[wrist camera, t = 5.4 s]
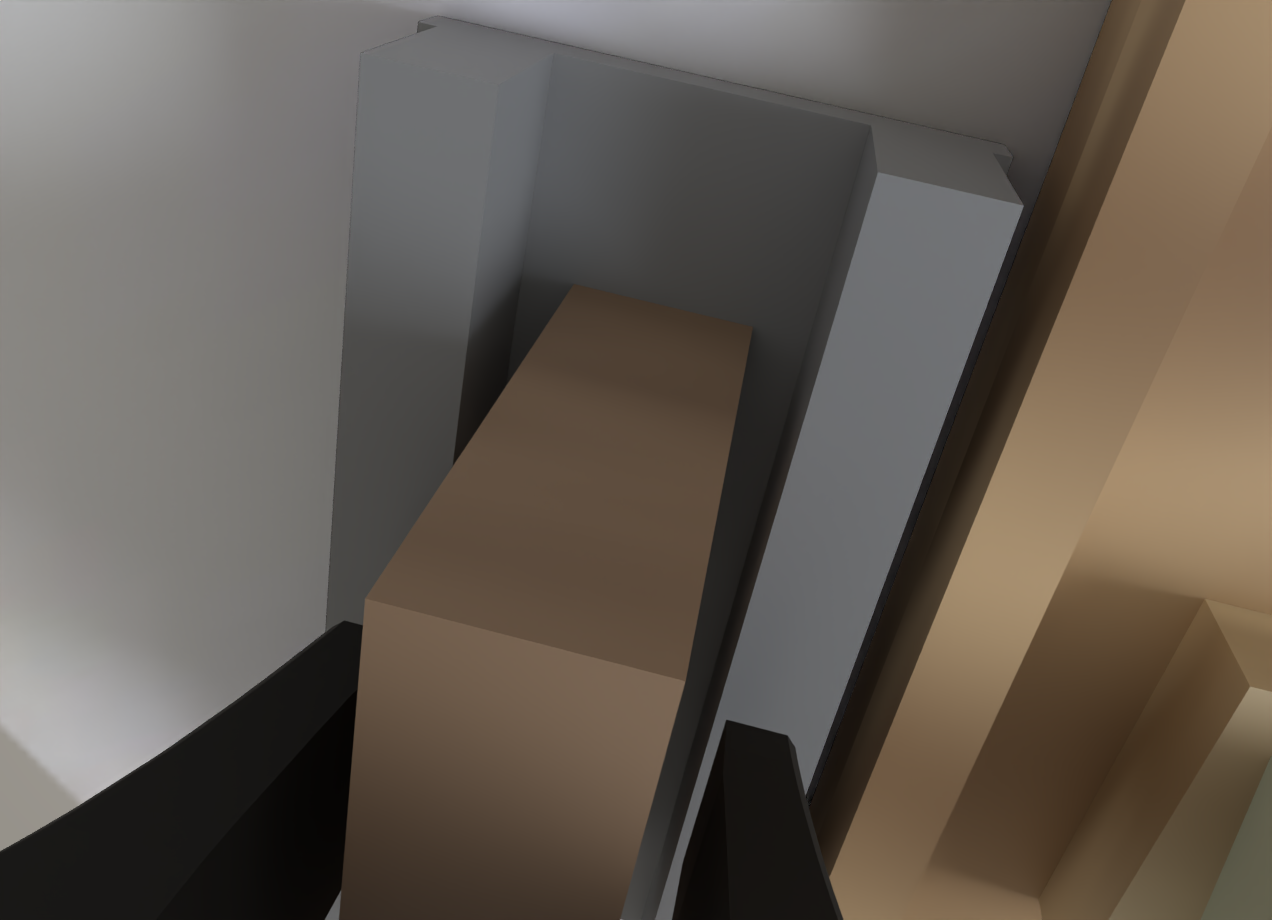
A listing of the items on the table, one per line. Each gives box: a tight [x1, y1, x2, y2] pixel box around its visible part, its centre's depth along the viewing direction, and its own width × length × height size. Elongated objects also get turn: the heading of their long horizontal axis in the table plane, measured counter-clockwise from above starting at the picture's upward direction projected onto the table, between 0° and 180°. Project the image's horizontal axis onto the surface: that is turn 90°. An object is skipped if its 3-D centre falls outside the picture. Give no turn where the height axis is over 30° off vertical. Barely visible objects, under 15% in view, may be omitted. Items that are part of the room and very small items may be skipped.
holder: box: [325, 16, 1024, 920], centre depth 13 cm, size 12×6×3 cm, turn 169°
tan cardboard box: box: [339, 284, 753, 920], centre depth 11 cm, size 8×2×6 cm, turn 169°
